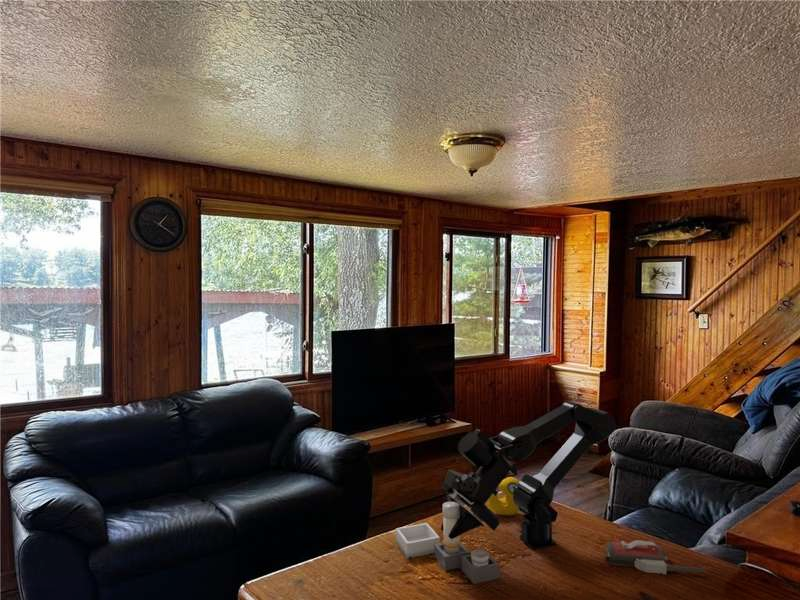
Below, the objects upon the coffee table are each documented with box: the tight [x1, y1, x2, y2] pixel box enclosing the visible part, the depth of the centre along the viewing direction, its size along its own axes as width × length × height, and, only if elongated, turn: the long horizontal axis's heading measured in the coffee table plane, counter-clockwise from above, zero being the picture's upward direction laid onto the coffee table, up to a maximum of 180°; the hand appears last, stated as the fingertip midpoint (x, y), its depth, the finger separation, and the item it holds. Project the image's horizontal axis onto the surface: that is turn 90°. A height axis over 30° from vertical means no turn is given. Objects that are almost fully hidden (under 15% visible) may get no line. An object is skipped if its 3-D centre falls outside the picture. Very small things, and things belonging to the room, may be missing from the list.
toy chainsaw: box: [604, 539, 707, 575], centre depth 123 cm, size 9×4×20 cm
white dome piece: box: [470, 548, 490, 568], centre depth 120 cm, size 4×4×4 cm
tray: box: [395, 522, 441, 559], centre depth 132 cm, size 8×8×4 cm
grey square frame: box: [434, 541, 471, 571], centre depth 125 cm, size 6×6×3 cm
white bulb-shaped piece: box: [442, 501, 461, 555], centre depth 125 cm, size 4×4×13 cm
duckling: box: [486, 476, 520, 516], centre depth 149 cm, size 11×5×10 cm, turn 88°
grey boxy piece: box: [460, 553, 501, 585], centre depth 120 cm, size 6×6×3 cm
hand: (445, 534), depth 125 cm, fingers closed on white bulb-shaped piece, 4 cm apart
